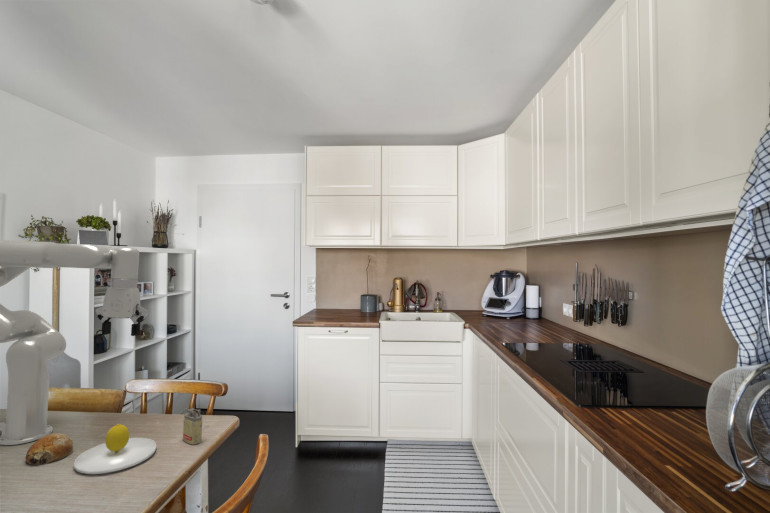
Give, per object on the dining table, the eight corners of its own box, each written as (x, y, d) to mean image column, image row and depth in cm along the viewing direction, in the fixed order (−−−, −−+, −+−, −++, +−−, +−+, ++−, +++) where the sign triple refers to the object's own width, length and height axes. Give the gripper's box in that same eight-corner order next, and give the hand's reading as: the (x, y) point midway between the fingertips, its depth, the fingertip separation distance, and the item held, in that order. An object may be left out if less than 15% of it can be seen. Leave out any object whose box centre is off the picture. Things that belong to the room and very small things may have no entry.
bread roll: (73, 467, 107) (87, 437, 110) (35, 468, 98) (52, 435, 102) (51, 461, 110) (65, 431, 113) (12, 461, 101) (29, 429, 105)
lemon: (116, 458, 102) (117, 428, 103) (99, 455, 103) (101, 426, 104) (133, 448, 108) (134, 421, 108) (117, 446, 109) (118, 419, 109)
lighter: (180, 440, 117) (181, 408, 118) (191, 435, 121) (193, 404, 121) (193, 446, 114) (194, 413, 114) (204, 441, 117) (206, 409, 117)
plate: (54, 476, 96) (54, 470, 96) (106, 442, 115) (107, 437, 115) (129, 476, 96) (129, 470, 96) (169, 442, 115) (169, 437, 115)
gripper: (89, 283, 121) (85, 335, 121) (142, 285, 122) (139, 337, 121) (106, 282, 129) (103, 332, 128) (156, 284, 129) (153, 333, 128)
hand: (120, 334), depth 124 cm, fingers open, 9 cm apart
